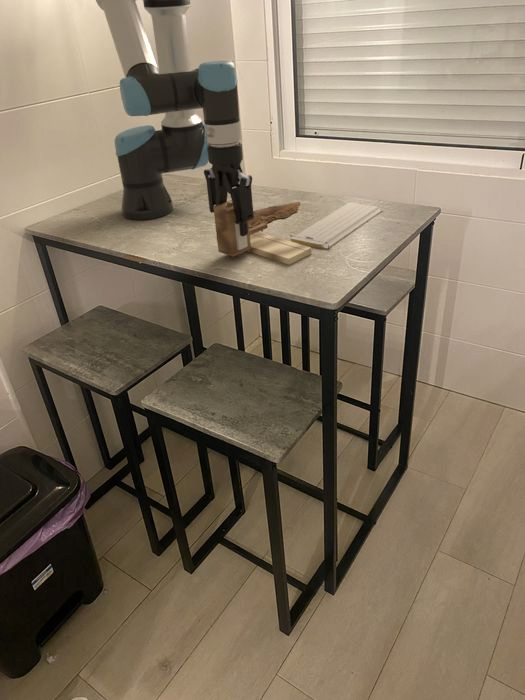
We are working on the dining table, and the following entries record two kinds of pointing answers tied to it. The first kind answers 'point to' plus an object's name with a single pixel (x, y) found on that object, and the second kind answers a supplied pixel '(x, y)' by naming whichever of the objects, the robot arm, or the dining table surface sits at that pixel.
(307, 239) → the baseboard molding
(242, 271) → the dining table surface
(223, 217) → the block
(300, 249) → the board
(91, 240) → the dining table surface
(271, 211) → the wooden fragment
